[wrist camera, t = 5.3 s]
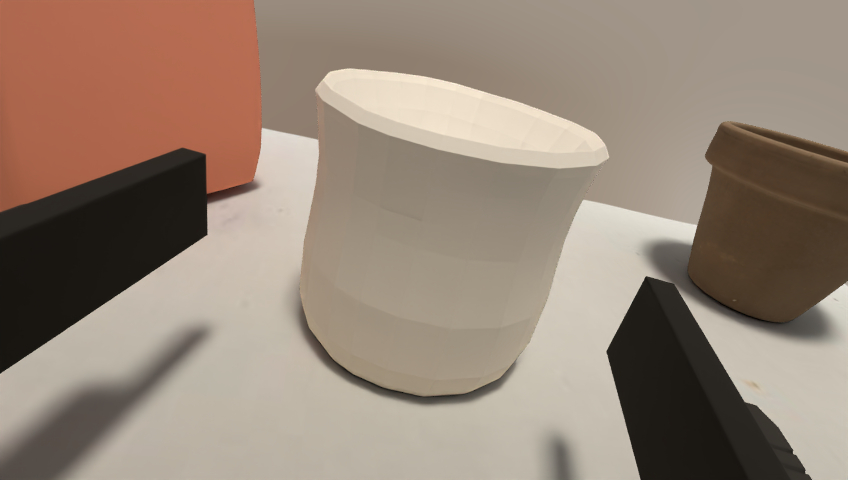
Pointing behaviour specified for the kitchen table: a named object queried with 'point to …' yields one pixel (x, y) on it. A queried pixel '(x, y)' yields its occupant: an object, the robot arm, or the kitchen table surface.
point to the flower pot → (771, 223)
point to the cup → (435, 227)
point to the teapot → (125, 90)
